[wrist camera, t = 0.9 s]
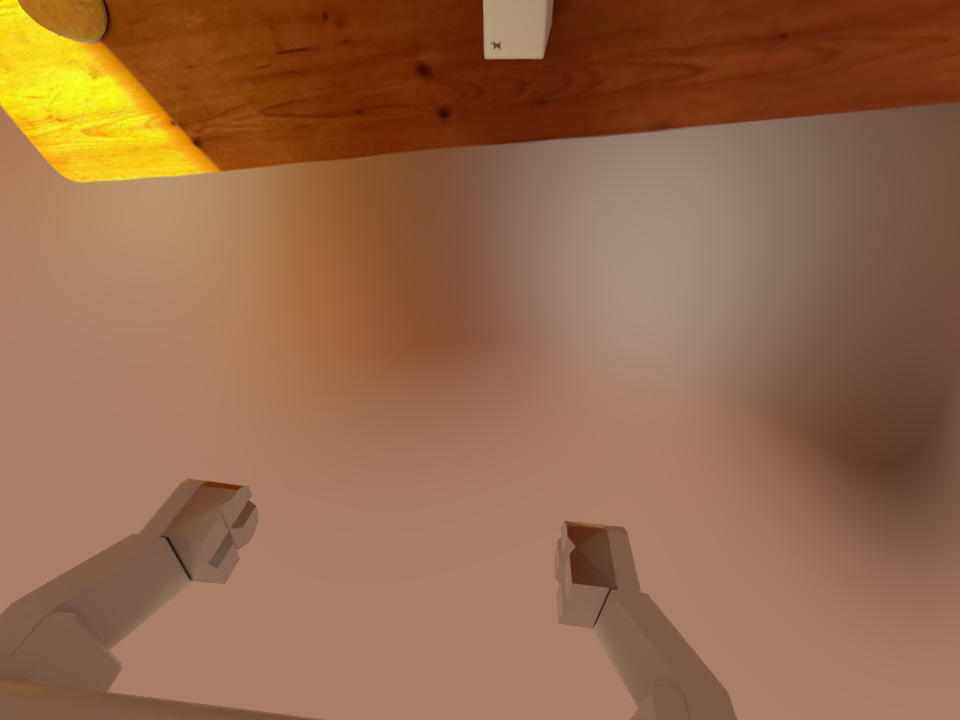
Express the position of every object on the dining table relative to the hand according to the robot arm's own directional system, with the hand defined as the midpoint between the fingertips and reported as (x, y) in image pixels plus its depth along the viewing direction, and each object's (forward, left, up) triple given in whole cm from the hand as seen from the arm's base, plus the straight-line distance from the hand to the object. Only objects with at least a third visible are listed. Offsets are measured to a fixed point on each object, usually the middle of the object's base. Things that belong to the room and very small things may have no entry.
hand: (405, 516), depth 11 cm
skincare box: (-2, -6, -43) cm, 43 cm away
